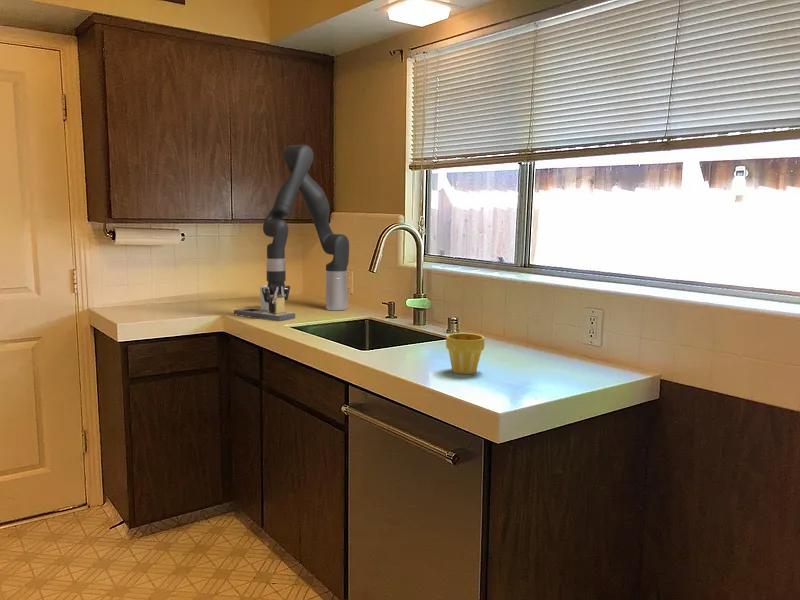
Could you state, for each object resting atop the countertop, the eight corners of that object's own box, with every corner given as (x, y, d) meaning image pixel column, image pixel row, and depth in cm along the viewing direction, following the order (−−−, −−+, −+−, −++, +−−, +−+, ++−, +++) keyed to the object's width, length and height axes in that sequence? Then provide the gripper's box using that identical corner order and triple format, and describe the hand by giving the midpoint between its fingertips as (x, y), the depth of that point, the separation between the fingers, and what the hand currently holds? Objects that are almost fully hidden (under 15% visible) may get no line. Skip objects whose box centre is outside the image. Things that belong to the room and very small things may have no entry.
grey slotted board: (250, 312, 275) (250, 306, 274) (295, 318, 260) (295, 312, 260) (233, 314, 267) (233, 309, 267) (279, 321, 253) (279, 315, 253)
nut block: (276, 315, 263) (276, 296, 262) (284, 316, 261) (284, 297, 259) (268, 317, 259) (268, 297, 258) (276, 318, 257) (276, 298, 256)
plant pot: (480, 377, 170) (481, 341, 169) (442, 374, 173) (442, 338, 172) (485, 368, 180) (487, 334, 179) (449, 365, 183) (450, 331, 182)
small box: (268, 311, 279) (268, 286, 277) (260, 309, 282) (259, 285, 281) (282, 309, 285) (282, 285, 284) (274, 307, 289) (273, 284, 287)
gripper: (269, 271, 249) (270, 315, 252) (295, 269, 261) (295, 310, 263) (256, 270, 254) (256, 313, 256) (281, 267, 265) (282, 309, 268)
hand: (276, 311), depth 260 cm, fingers closed on nut block, 4 cm apart
